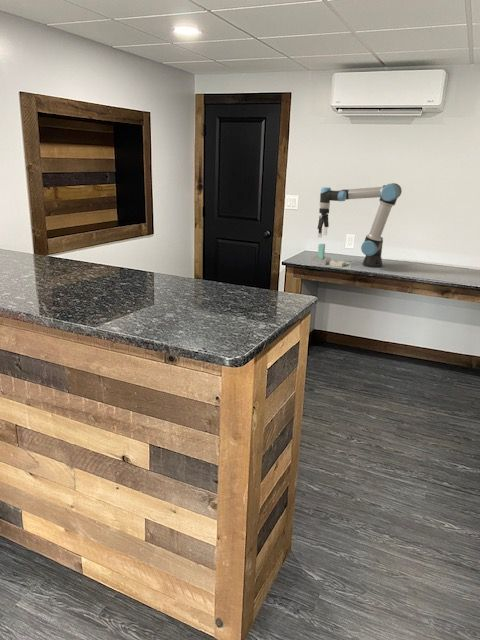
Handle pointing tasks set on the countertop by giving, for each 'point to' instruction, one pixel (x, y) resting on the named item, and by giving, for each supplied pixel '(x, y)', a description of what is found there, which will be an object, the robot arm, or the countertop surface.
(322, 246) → the plug
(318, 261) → the port panel
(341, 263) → the holster
